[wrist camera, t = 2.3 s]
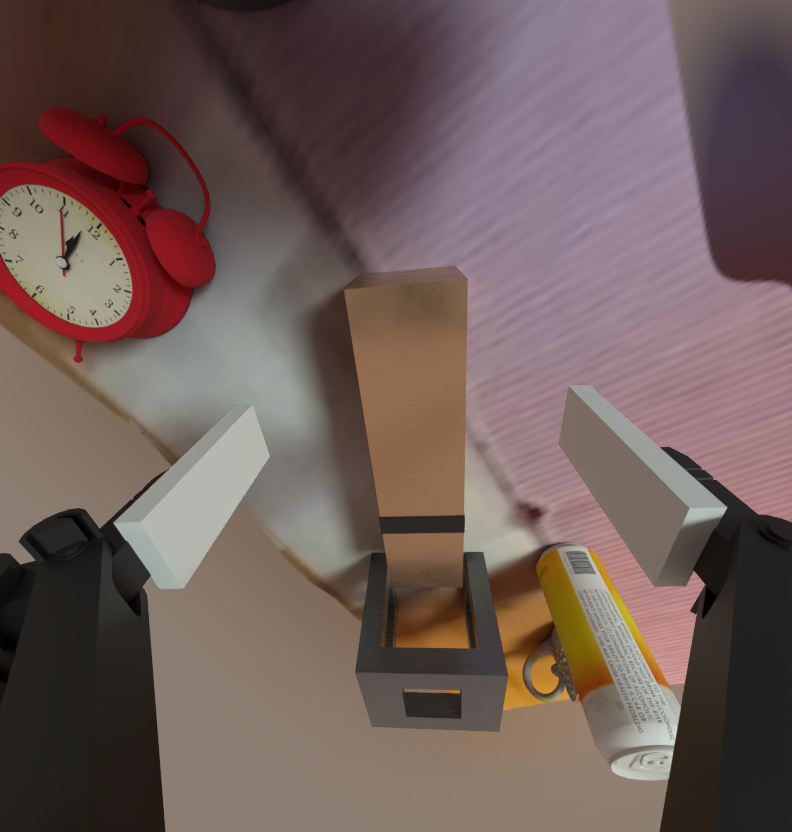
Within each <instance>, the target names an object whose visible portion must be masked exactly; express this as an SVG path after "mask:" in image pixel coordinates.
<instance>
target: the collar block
mask: <svg viewBox="0 0 792 832" xmlns="http://www.w3.org/2000/svg"><path fill="white" fill-rule="evenodd" d="M464 612H465V620H466V629H467V637H468V645H469V649H457V648H396V629H397V604H396V598H395V591H394V588H391V584H390V578H389V571H388V565H387V559H386V553H372V556H371V563H370V570H369V577H368V585H367V592H366V599H365V606H364V613H363V620H362V628H361V635H360V642H359V650H358V656H357V663H356V670H355V673H356V676H357V680H358V683H359V686H360V689H361V692H362V695H363V699H364V702H365V705H366V708H367V712H368V715H369V718H370V721H371V725H372V727H392V728H416V729H443V730H468V731H493V732H499V729H500V723H501V717H502V711H503V705H504V698H505V692H506V686H507V680H508V673H507V668H506V663H505V658H504V653H503V648H502V643H501V638H500V633H499V628H498V623H497V618H496V613H495V608H494V603H493V598H492V593H491V588H490V583H489V578H488V573H487V568H486V563H485V559H484V554H483V552H465V603H464ZM404 688H406V689H409V688H410V689H441V690H460V694H454V693H417V692H405V690H404Z"/></svg>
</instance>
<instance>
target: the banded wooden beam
mask: <svg viewBox="0 0 792 832" xmlns="http://www.w3.org/2000/svg"><path fill="white" fill-rule="evenodd" d="M467 286H468V279H467V278H466V277H465V276H464V275H463V273H462V272H461V271H460V270H459V269H458V268H457V267H456V266H448V267H437V268H426V269H415V270H404V271H393V272H382V273H371V274H362V275H360V276H359V277H358V278H357V279H356V280H355V281H353V282H352V283H351V284H350V285H349V286H348V287H346V288H345V289H344V293H345V300H346V306H347V312H348V319H349V325H350V331H351V338H352V344H353V350H354V357H355V363H356V369H357V375H358V382H359V388H360V394H361V401H362V407H363V413H364V420H365V426H366V432H367V439H368V445H369V451H370V458H371V464H372V470H373V477H374V483H375V489H376V496H377V502H378V508H379V514H380V516H379V521H380V527H381V533H382V534H383V540H384V546H385V552H386V559H387V565H388V571H389V578H390V584H391V588H415V587H463V534H464V527H465V516H464V472H465V410H466V348H467Z"/></svg>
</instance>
